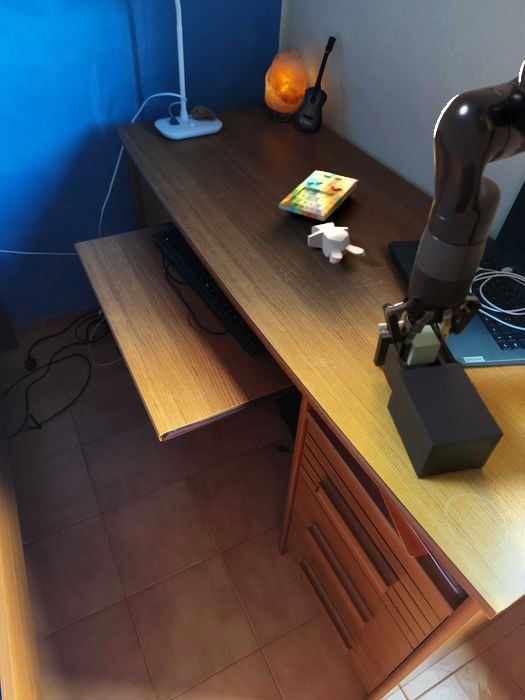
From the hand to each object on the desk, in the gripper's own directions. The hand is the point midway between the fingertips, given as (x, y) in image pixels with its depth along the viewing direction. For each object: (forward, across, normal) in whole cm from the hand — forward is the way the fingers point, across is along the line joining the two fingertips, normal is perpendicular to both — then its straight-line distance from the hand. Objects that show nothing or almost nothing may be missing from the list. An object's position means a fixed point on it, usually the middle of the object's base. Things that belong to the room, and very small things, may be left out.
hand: (417, 353), depth 71 cm
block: (0, 0, 0) cm, 0 cm away
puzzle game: (+8, 0, +59) cm, 60 cm away
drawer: (+7, 0, +2) cm, 7 cm away
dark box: (+8, 0, -10) cm, 13 cm away
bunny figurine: (+8, -2, +39) cm, 40 cm away
